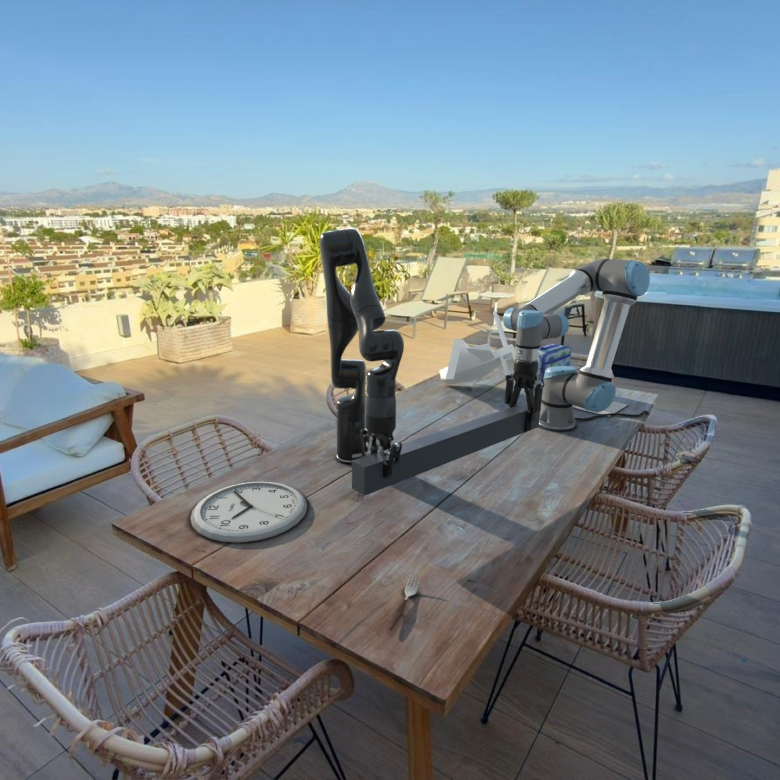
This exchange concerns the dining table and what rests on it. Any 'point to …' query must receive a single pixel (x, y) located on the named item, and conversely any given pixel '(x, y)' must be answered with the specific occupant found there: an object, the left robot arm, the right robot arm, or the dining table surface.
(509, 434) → the beam
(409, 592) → the fork
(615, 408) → the invitation card
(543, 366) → the lunch box
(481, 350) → the white plastic object
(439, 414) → the dining table surface
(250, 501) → the wall clock
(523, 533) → the dining table surface
